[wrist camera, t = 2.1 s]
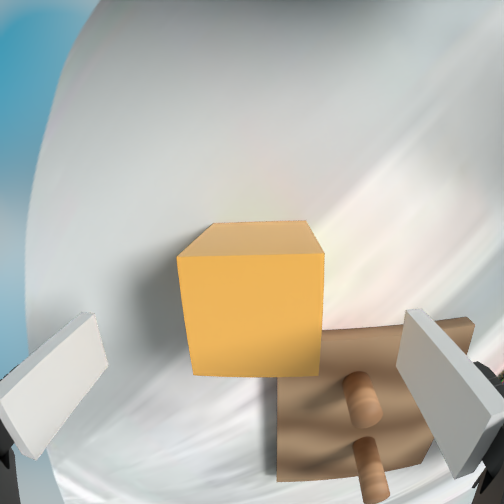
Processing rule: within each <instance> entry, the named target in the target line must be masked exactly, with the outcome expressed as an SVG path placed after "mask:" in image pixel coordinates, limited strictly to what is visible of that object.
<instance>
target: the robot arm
mask: <svg viewBox="0 0 504 504" xmlns="http://www.w3.org/2000/svg"><path fill="white" fill-rule="evenodd" d="M108 366H109V364H108V361H107V357H106V354H105V351H104V347H103V343H102V340H101V336H100V332H99V328H98V324H97V320H96V316H95V313H83V312H81V313H80V314H79V315H78V316H77V317H75V318H74V319H73V320H72V321H70V322H69V323H68V324H67V325H65V326H64V327H63V328H62V329H61V330H59V331H58V332H57V333H56V334H55V335H53V336H52V337H51V338H50V339H49V340H47V341H46V342H45V343H44V344H43V345H41V346H40V347H39V348H38V349H37V350H36V351H34V352H33V353H32V354H31V355H30V356H29V357H27V358H26V359H25V360H24V361H23V362H22V363H21V364H19V365H17V366H16V367H15V368H14V369H12V370H11V371H10V373H9V374H7V375H6V376H4V378H3V379H1V380H0V504H21V503H20V497H19V490H18V483H17V475H16V466H15V455H14V452H13V450H12V448H11V446H12V445H13V444H14V443H15V444H16V445H17V447H18V449H19V450H20V452H21V453H22V454H23V455H25V456H27V457H29V458H32V459H34V460H36V461H37V459H38V458H39V457H40V455H41V454H42V453H43V451H44V450H45V448H46V447H47V446H48V444H49V443H50V442H51V440H52V439H53V438H54V436H55V435H56V434H57V432H58V431H59V429H60V428H61V427H62V425H63V424H64V423H65V421H66V420H67V419H68V417H69V416H70V415H71V414H72V412H73V411H74V410H75V408H76V407H77V406H78V404H79V403H80V402H81V400H82V399H83V398H84V397H85V395H86V394H87V393H88V391H89V390H90V389H91V387H92V386H93V385H94V384H95V382H96V381H97V380H98V379H99V377H100V376H101V375H102V373H103V372H104V371H105V370H106V368H107V367H108ZM396 367H397V369H398V371H399V373H400V375H401V376H402V378H403V380H404V382H405V384H406V385H407V387H408V389H409V391H410V393H411V394H412V396H413V398H414V400H415V402H416V404H417V406H418V407H419V409H420V411H421V413H422V415H423V417H424V419H425V421H426V423H427V425H428V427H429V428H430V430H431V432H432V434H433V436H434V438H435V440H436V442H437V444H438V446H439V448H440V450H441V452H442V455H443V457H444V459H445V461H446V463H447V465H448V467H449V469H450V471H451V473H452V476H453V478H454V479H457V478H460V477H463V476H465V475H468V474H470V473H473V472H474V471H475V470H476V468H477V467H478V465H479V464H480V462H481V461H483V463H484V464H485V466H486V468H485V469H484V471H483V472H482V473H481V475H480V476H479V477H478V479H477V480H476V482H475V483H474V485H473V486H472V488H475V487H476V486H477V484H478V483H479V484H478V487H477V490H476V493H475V496H474V499H473V501H472V504H504V385H502V382H501V381H500V380H499V378H496V375H495V374H494V373H493V372H492V371H491V370H490V369H489V368H488V367H487V366H485V365H483V364H481V363H480V362H478V361H477V362H472V361H471V360H470V359H469V358H468V357H467V356H466V354H465V353H464V352H463V351H462V350H461V349H460V348H459V347H458V346H457V345H456V344H455V342H454V341H453V340H452V339H451V338H450V337H449V336H448V335H447V334H446V333H445V332H444V331H443V330H442V329H441V328H440V327H439V326H438V325H437V324H436V323H435V321H434V320H433V319H432V318H431V317H430V316H429V315H428V314H427V313H426V312H425V311H424V310H423V309H412V310H406V312H405V319H404V325H403V331H402V337H401V342H400V347H399V353H398V357H397V362H396Z"/></svg>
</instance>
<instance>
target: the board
mask: <svg viewBox="0 0 504 504" xmlns="http://www.w3.org/2000/svg"><path fill="white" fill-rule="evenodd" d="M435 323H436V324H437V325H438V326H439V327H440V328H441V329H442V330H443V331H444V332H445V333H446V334H447V335H448V336H449V337H450V338H451V339H452V340H453V341H454V342H455V344H456V345H457V346H458V347H459V348H460V349H461V350H462V351H463V352H464V353H465V354H466V355H467V352H468V349H469V345H470V342H471V338H472V335H473V331H474V327H475V324H474V323H473V322H472V321H471V320H470V319H468V318H467V317H461V318H454V319H447V320H439V321H435ZM403 325H404V324H403ZM403 325H393V326H381V327H369V328H355V329H338V330H322V333H321V349H320V363H319V375H318V376H303V377H277V482H296V481H315V480H328V479H338V478H347V477H355V476H358V477H359V482H360V487H361V492H362V497H363V502H364V503H365V504H376V503H379V502H382V501H384V500H385V499H387V498H388V497H389V496H390V491H389V488H388V484H387V480H386V476H385V473H384V472H386V471H391V470H396V469H401V468H405V467H410V466H414V465H418V464H421V463H422V461H423V459H424V457H425V455H426V453H427V451H428V449H429V447H430V445H431V443H432V441H433V439H434V436H433V434H432V432H431V430H430V428H429V427H428V425H427V423H426V421H425V419H424V417H423V415H422V413H421V411H420V409H419V407H418V406H417V404H416V402H415V400H414V398H413V396H412V394H411V393H410V391H409V389H408V387H407V385H406V384H405V382H404V380H403V378H402V376H401V375H400V373H399V371H398V369H397V367H396V362H397V357H398V353H399V347H400V342H401V337H402V331H403Z"/></svg>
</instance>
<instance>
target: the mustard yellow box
mask: <svg viewBox="0 0 504 504" xmlns="http://www.w3.org/2000/svg"><path fill="white" fill-rule="evenodd" d="M324 255H325V253H324V251H323V250H322V248H321V246H320V244H319V243H318V241H317V239H316V237H315V236H314V234H313V232H312V231H311V229H310V227H309V225H308V224H307V222H306V221H266V222H236V223H213V224H212V225H211V226H210V227H209V228H207V229H206V230H205V231H204V232H203V233H202V234H201V235H200V236H199V237H198V238H196V239H195V240H194V241H193V242H192V243H191V244H190V245H189V246H188V247H187V248H185V249H184V250H183V251H182V252H181V253H180V254H179V255H178V256H177V257H176V258H177V267H178V275H179V283H180V291H181V299H182V306H183V313H184V320H185V327H186V333H187V339H188V346H189V352H190V358H191V363H192V369H193V375H198V376H219V377H303V376H318V375H319V363H320V349H321V333H322V315H323V292H324Z"/></svg>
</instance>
